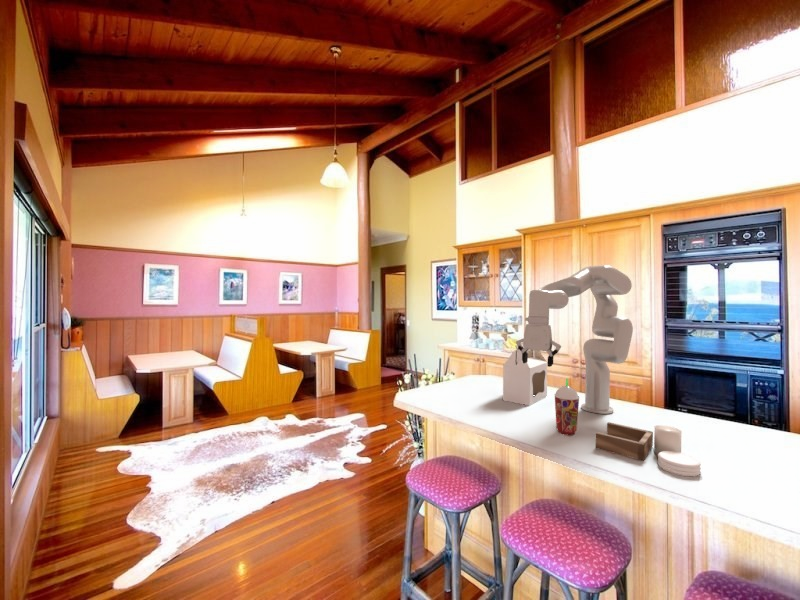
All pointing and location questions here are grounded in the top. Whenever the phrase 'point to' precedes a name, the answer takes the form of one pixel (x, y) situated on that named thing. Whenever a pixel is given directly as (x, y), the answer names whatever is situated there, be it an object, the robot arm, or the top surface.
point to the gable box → (525, 377)
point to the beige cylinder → (667, 439)
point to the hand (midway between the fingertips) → (537, 364)
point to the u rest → (625, 441)
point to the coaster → (679, 463)
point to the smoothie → (566, 409)
